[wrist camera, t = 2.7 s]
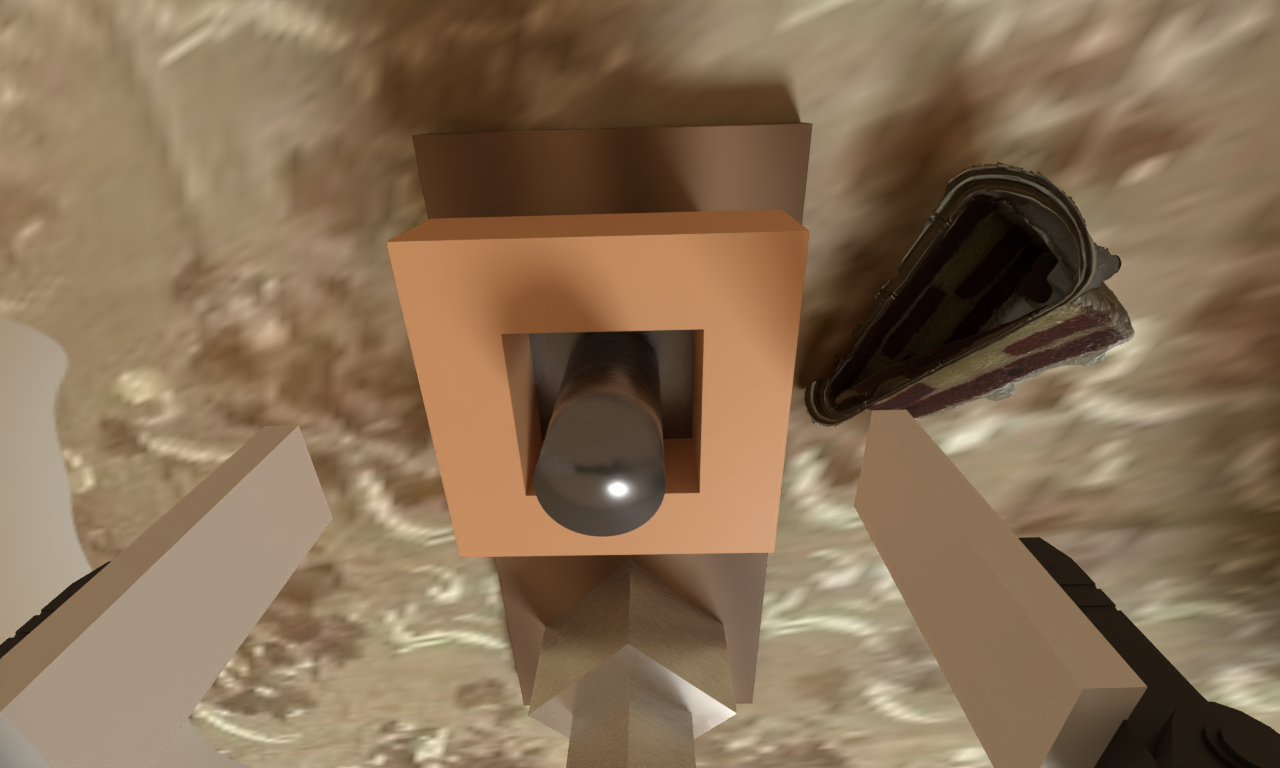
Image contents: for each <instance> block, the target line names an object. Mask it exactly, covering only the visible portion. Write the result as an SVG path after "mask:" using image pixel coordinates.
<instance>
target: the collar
mask: <svg viewBox="0 0 1280 768" xmlns="http://www.w3.org/2000/svg"><path fill="white" fill-rule="evenodd" d="M808 240H809V230H808V229H806V228H805V227H804V226H802V225H801V224H800V223H798V222H797V221H796V220H795V219H793V218H792V217H791V216H789V215H788V214H787V213H785V212H784V211H783V210H781V209H774V210H737V211H700V212H662V213H625V214H588V215H551V216H513V217H476V218H439V219H429V220H427V221H425V222H423V223H421V224H419V225H417V226H416V227H414V228H412V229H410V230H408V231H406V232H404V233H402V234H400V235H398V236H397V237H395V238H393V239H391V240H389V241H387V242H386V243H387V248H388V252H389V256H390V260H391V265H392V269H393V273H394V277H395V282H396V286H397V290H398V294H399V299H400V303H401V307H402V311H403V316H404V320H405V324H406V328H407V333H408V337H409V341H410V346H411V350H412V354H413V358H414V363H415V367H416V371H417V375H418V380H419V384H420V388H421V392H422V397H423V401H424V405H425V409H426V414H427V418H428V422H429V427H430V431H431V435H432V439H433V444H434V448H435V452H436V456H437V461H438V465H439V469H440V473H441V478H442V482H443V486H444V490H445V495H446V499H447V503H448V507H449V512H450V516H451V520H452V525H453V529H454V533H455V537H456V542H457V546H458V550H459V554H460V557H503V556H572V555H641V554H710V553H774V548H775V539H776V530H777V521H778V512H779V503H780V494H781V485H782V476H783V467H784V458H785V448H786V439H787V430H788V421H789V412H790V403H791V394H792V385H793V376H794V367H795V358H796V349H797V340H798V331H799V322H800V313H801V304H802V295H803V285H804V276H805V267H806V258H807V249H808ZM653 330H694V356H693V411H692V438H690V439H663V449H664V468H665V494H664V498H663V501H662V503H661V506H660V507H659V509H658V511H657V512H656V513H655V514H654V516H653V517H652V518H651V519H650V520H649V521H648V522H646V523H645V524H643V525H642V526H640V527H639V528H637V529H635V530H633V531H630V532H628V533H624V534H621V535H616V536H607V537H597V536H588V535H584V534H579V533H577V532H574V531H571V530H569V529H567V528H565V527H563V526H561V525H560V524H558V523H557V522H556V521H554V520H553V519H552V518H551V517H550V516H549V515H548V514H547V513H546V512H545V511H544V509H543V508H542V507H541V505H540V503H539V501H538V499H537V496H536V493H535V489H534V474H535V470H536V466H537V463H538V460H539V456H540V453H541V450H542V447H543V443H544V441H542V434H541V426H540V419H539V411H538V403H537V395H536V387H535V379H534V372H533V364H532V356H531V348H530V340H529V333H564V332H609V331H653Z"/></svg>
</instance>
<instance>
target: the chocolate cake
mask: <svg viewBox="0 0 1280 768" xmlns="http://www.w3.org/2000/svg"><path fill="white" fill-rule="evenodd" d="M1104 248H1105V247H1101V246H1097V244H1096V243H1094V242H1093V240H1092V238H1091V236H1090V235H1089V233H1088V231H1087V229H1086V224H1085V220H1084V219H1083V218H1082V216H1081V213H1080V212H1079V210H1078V208H1077V206H1075V203H1074V202H1073V200H1072V198H1071V197H1068V196H1067V195H1066V193H1065V192H1064V191H1062V192H1061V191H1060V190H1059V189H1058V188H1057V187H1056V186H1055V185H1054V184H1053V183H1052V182H1050V181H1049V180H1048V179H1047V178H1046V177H1045V176H1043V175H1042V174H1041V173H1039V172H1038V173H1037V175H1036V174H1035V176H1034V173H1033V172H1032V171H1030V172H1027V171H1025V170H1023V168H1018V167H1013V166H1008V165H1005V164H1002V163H999V162H998V163H997V164H994V165H992V164H985V165H984V166H981V164H980V165H978V166H972V167H971V168H970V167H968V168H967V169H964V172H962V173H960V174H957V175H956V178H955V177H954V178H951V179H950V181H949V183H948V186H947V189H946V192H945V195H944V197H943V199H942V201H941V202H940V204H939V205H938V206H937V208H936V209H935V210H934V211H933V213H932V214H931V216H930V218H929V219H928V221H927V223H926V225H925V227H924V228H923V230H922V232H921V233H920V235H919V236H918V238H917V239H916V240H915V241H914V243H913V245H912V247H911V248H910V249H909V250H908V252H907V253H906V255H905V256H904V257H903V258H902V261H901V264H900V265H899V269H898V271H899V276H898V277H897V278H896V279H894V280H891V279H890V280H889V281H888V282H887V283H886V284H885V285H884V286H883V287H882V288H881V291H880V292H879V293H877V294H876V297H875V299H874V304H873V307H872V308H871V309H870V310H869V314H870V317H868V318H867V319H866V320H865V322H864V324H859V325H858V326H857V327H856V328H855V329H854V331H853V332H852V334H853V336H852V337H853V338H857V341H856V343H855V345H854V348H853V350H852V351H851V352H850V353H849V354H848V355H846V356H845V357H844V358H841V359H840V360H838V365H837V367H836V369H835V371H834V374H833V376H832V377H831V378H830V380H825V379H820V380H817V381H815V382H812V383H810V384H809V385H807V386H806V387H805V391H804V397H803V399H804V401H805V406H807V413H808V414H809V415H810V416H811V419H812V421H813V423H815V422H817V423H819V424H820V425H822V424H823V426H827V427H828V426H833V425H835V426H837V425H839V424H840V423H842V422H844V421H846V420H848V419H850V418H852V417H853V416H856V415H857V414H859V413H861V412H863V410H865V409H867V408H868V409H870V410H907V411H908V412H909V413H910V414H911V416H912V417H913V418H925V417H928V416H933V415H935V414H939V413H943V412H945V411H948V410H951V409H954V408H956V407H958V406H960V405H963V404H966V403H969V402H972V401H975V400H978V399H981V398H987V399H989V400H993V401H998V400H1002V399H1005V398H1007V397H1009V396H1011V395H1012V394H1013V393H1014V392H1015V388H1014V385H1013V383H1017V382H1021V381H1024V380H1027V379H1030V378H1032V377H1035V376H1037V375H1039V374H1040V373H1042V372H1044V371H1046V370H1048V369H1051V368H1054V367H1059V366H1065V365H1081V366H1092V365H1096V364H1098V363H1099V362H1101V361H1102V360H1103V358H1104V356H1105V352H1107V351H1108V350H1110V349H1111V348H1113V347H1115V346H1117V345H1120V344H1123V343H1125V342H1127V341H1129V340H1131V339H1132V338H1133V336H1134V330H1133V328H1132V325H1131V321H1130V318H1129V316H1128V313H1127V311H1126V310H1125V309H1124V307H1123V306H1122V304H1121V303H1120V302H1119V301H1118V299H1117V297H1116V296H1115V295H1114V293H1113V292H1112V291H1111V290H1110V289H1109V288H1108V287H1107V286H1106V285H1105V283H1104V282H1103V281H1105V280H1107V279H1109V278H1111V277H1112V276H1113V275H1114V274H1115V273H1117V272H1118V271H1119V269H1120V267H1121V261H1120V258H1119V256H1117V255H1110V253H1109V251H1108V248H1106V249H1104ZM1046 251H1051V252H1052V253H1053V254H1054V255H1055V256H1056V258H1057V259H1058V261H1059V262H1058V263H1057V265H1056V266H1055V267H1054V269H1053V270H1052V271H1051V272H1050V274H1049V275H1048V277H1047V282H1048V283H1049V284H1050V285H1051V287H1052V289H1053V291H1052V294H1051V296H1050V298H1049V299H1048V301H1047V302H1045V303H1042V304H1041V303H1037V302H1034V301H1032V300H1031V299H1030V298H1028V297H1027V296H1020V295H1019V296H1017V295H1016V292H1017V288H1018V285H1019V283H1020V281H1021V280H1022V278H1023V277H1024V276H1025V275H1026V274H1027V273H1028V272H1029V271H1030V270H1031V268H1032V266H1033V264H1034V263H1035V261H1036V260H1037V258H1038V257H1039V256H1040V255H1041V254H1042V253H1044V252H1046ZM838 356H839V355H838V354H836V355H835V357H836V358H838Z"/></svg>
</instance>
